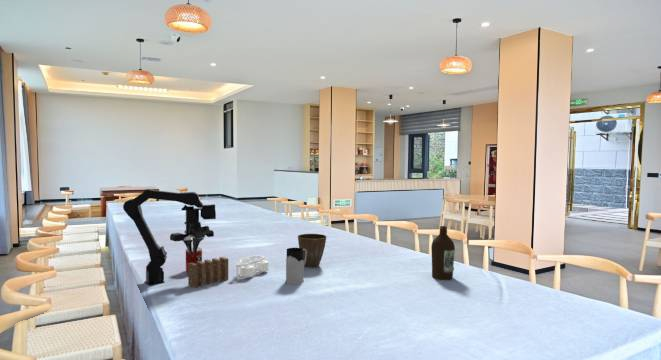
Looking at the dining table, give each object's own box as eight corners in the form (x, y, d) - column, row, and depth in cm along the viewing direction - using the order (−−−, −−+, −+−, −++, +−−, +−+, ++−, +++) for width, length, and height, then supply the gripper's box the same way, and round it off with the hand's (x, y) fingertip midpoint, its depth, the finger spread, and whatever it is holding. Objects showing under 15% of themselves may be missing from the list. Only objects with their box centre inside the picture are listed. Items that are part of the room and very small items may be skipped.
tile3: (209, 284, 179) (209, 262, 179) (203, 282, 182) (203, 260, 182) (213, 283, 180) (213, 261, 180) (207, 281, 184) (207, 259, 183)
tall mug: (281, 283, 182) (281, 250, 182) (298, 275, 195) (298, 244, 194) (297, 286, 178) (297, 252, 178) (313, 278, 191) (314, 246, 190)
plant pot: (327, 263, 219) (327, 234, 218) (324, 270, 204) (324, 239, 203) (300, 262, 220) (300, 233, 219) (295, 269, 205) (295, 238, 205)
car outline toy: (245, 282, 184) (245, 266, 183) (227, 278, 189) (227, 262, 189) (273, 272, 201) (273, 257, 201) (255, 268, 207) (255, 254, 206)
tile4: (217, 282, 182) (217, 260, 181) (211, 280, 185) (211, 258, 185) (220, 281, 183) (220, 259, 183) (215, 279, 187) (215, 258, 186)
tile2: (201, 286, 176) (201, 263, 176) (195, 283, 180) (195, 261, 179) (205, 285, 178) (205, 262, 177) (199, 283, 181) (199, 260, 181)
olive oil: (425, 277, 193) (427, 225, 192) (441, 274, 199) (442, 223, 198) (443, 283, 185) (444, 228, 184) (458, 279, 190) (460, 226, 189)
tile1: (193, 288, 174) (193, 265, 173) (187, 285, 177) (187, 262, 177) (197, 287, 175) (197, 264, 175) (191, 284, 178) (191, 262, 178)
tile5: (224, 281, 184) (224, 259, 184) (218, 278, 188) (218, 257, 188) (228, 280, 186) (228, 258, 185) (222, 278, 189) (222, 256, 189)
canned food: (191, 274, 196) (191, 251, 195) (182, 271, 200) (182, 249, 200) (205, 270, 202) (205, 248, 201) (195, 268, 206) (195, 246, 206)
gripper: (181, 223, 172) (181, 260, 173) (220, 219, 186) (220, 253, 186) (169, 221, 180) (169, 256, 181) (207, 217, 193) (207, 249, 194)
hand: (192, 253), depth 185 cm, fingers closed
